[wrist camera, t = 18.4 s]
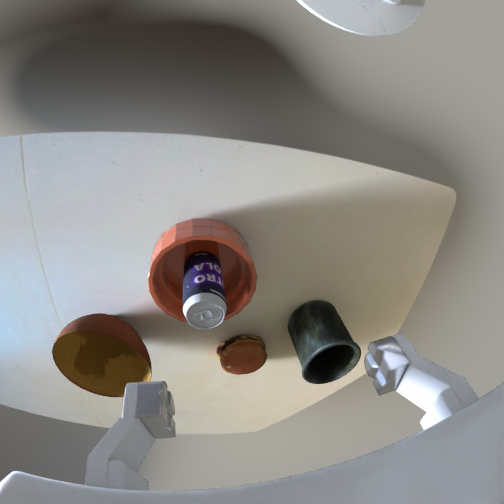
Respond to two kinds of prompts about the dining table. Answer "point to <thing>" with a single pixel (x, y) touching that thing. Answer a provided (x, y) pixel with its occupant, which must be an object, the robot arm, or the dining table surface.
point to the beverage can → (203, 291)
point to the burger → (242, 354)
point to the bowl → (102, 355)
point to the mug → (322, 343)
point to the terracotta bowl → (196, 240)
